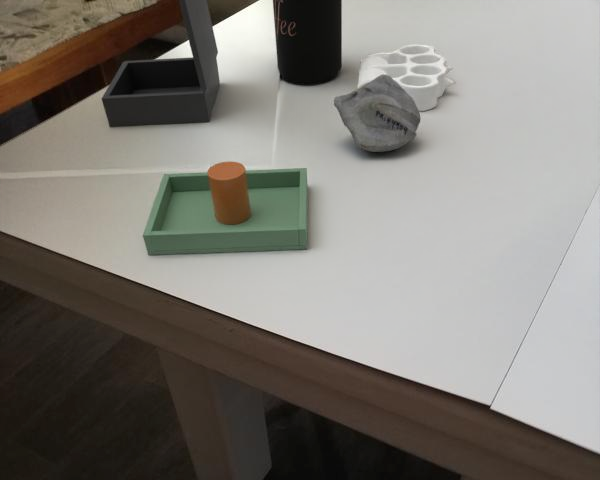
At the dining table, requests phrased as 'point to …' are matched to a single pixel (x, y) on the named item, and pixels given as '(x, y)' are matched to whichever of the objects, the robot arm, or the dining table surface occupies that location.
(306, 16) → the coffee jar
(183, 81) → the black box
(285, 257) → the dining table surface
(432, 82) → the white multi-well holder
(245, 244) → the tray
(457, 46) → the dining table surface
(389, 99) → the fossil
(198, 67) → the lid
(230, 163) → the orange cylinder
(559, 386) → the dining table surface
